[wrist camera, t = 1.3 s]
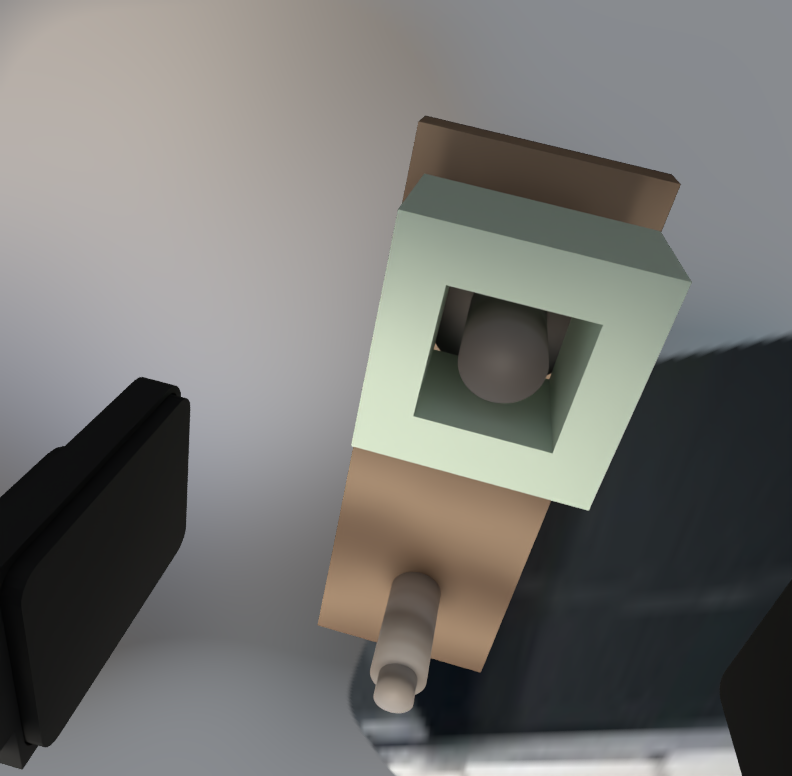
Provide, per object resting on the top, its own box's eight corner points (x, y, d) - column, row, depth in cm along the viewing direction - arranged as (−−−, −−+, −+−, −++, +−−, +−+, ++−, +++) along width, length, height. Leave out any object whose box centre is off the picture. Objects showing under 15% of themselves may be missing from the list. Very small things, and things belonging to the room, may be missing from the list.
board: (482, 646, 32) (468, 814, 25) (326, 601, 33) (270, 755, 26) (671, 174, 21) (740, 248, 14) (425, 115, 21) (373, 158, 14)
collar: (579, 429, 21) (588, 510, 17) (381, 376, 21) (351, 445, 17) (660, 231, 17) (691, 282, 14) (424, 173, 18) (397, 209, 14)
